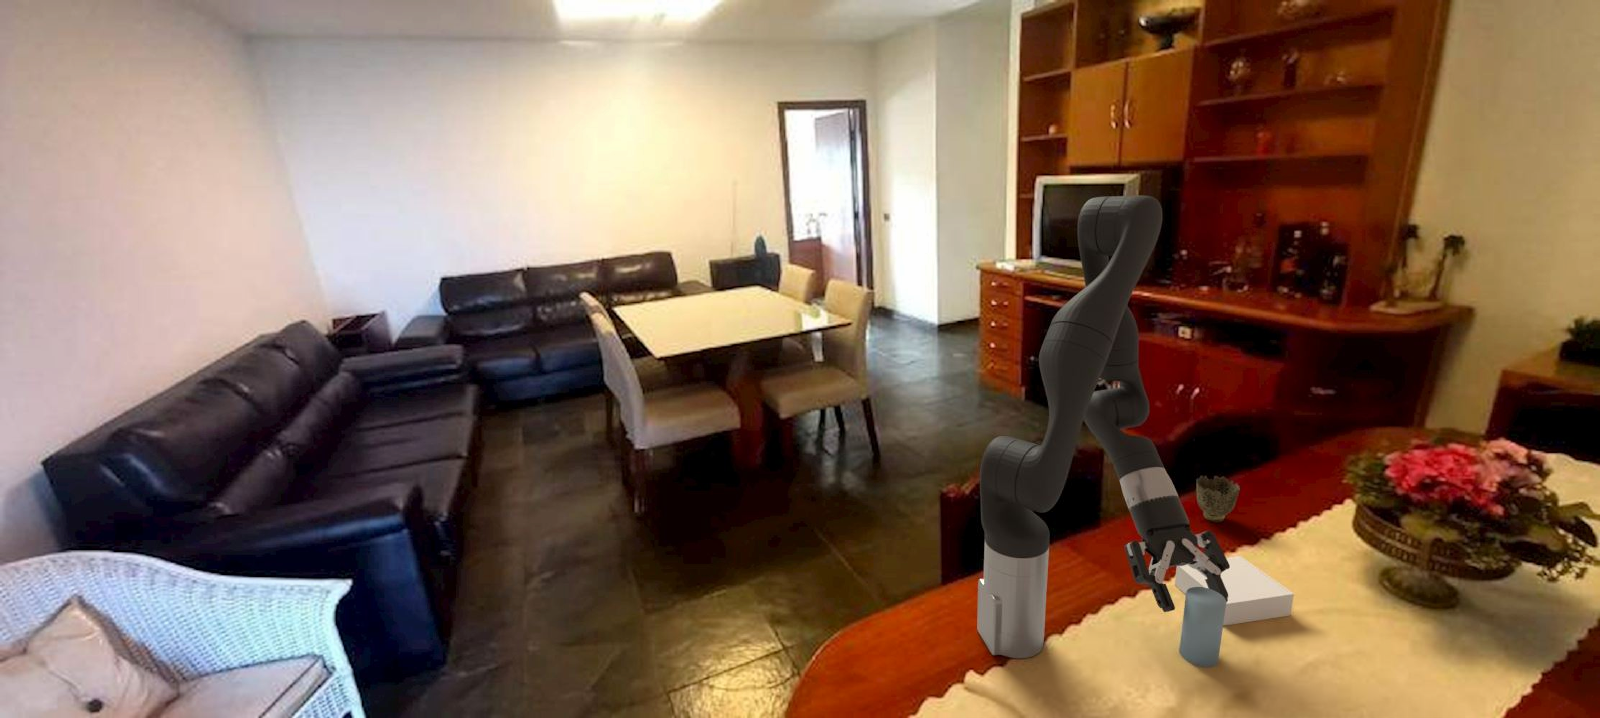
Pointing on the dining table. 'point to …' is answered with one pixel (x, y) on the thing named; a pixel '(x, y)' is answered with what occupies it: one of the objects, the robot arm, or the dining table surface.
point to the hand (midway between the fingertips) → (1196, 606)
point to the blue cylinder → (1202, 626)
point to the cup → (1216, 497)
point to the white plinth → (1243, 591)
